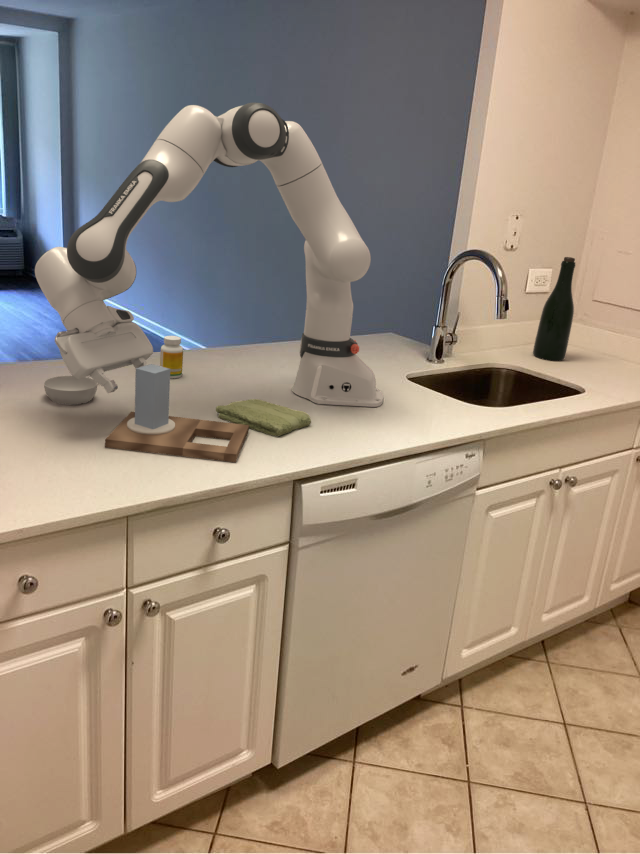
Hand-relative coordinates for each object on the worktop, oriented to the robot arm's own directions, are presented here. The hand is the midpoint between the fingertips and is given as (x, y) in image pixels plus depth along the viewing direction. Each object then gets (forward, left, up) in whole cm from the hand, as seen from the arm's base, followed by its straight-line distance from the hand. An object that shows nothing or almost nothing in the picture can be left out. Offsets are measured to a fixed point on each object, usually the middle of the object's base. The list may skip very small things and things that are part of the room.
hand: (130, 385), depth 139 cm
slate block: (-5, +2, -7) cm, 8 cm away
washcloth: (-25, -13, -9) cm, 30 cm away
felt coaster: (-5, +2, -7) cm, 9 cm away
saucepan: (+16, -17, -9) cm, 25 cm away
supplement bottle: (+1, -38, -9) cm, 39 cm away
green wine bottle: (-109, -108, -9) cm, 154 cm away
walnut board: (-11, +3, -9) cm, 14 cm away
